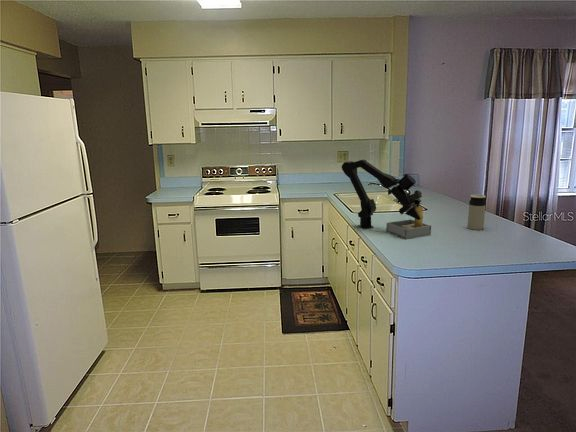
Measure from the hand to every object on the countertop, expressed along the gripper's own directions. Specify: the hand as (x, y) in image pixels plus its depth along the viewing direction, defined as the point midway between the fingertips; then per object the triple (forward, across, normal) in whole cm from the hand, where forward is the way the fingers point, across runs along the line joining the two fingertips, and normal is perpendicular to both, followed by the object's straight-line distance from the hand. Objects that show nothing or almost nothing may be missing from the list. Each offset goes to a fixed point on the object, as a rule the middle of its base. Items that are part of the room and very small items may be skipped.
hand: (421, 218), depth 211 cm
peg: (+4, 0, +6) cm, 7 cm away
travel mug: (+21, +27, -9) cm, 35 cm away
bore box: (+2, -1, +10) cm, 11 cm away
